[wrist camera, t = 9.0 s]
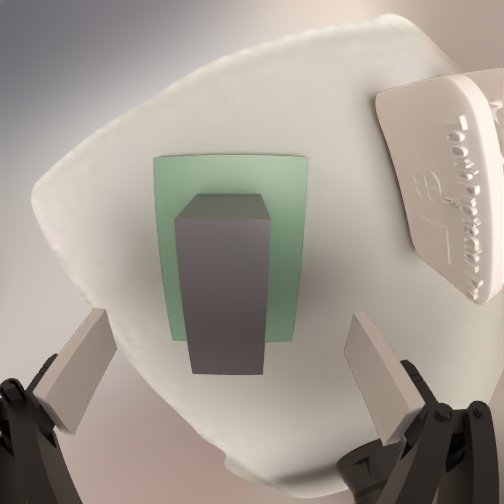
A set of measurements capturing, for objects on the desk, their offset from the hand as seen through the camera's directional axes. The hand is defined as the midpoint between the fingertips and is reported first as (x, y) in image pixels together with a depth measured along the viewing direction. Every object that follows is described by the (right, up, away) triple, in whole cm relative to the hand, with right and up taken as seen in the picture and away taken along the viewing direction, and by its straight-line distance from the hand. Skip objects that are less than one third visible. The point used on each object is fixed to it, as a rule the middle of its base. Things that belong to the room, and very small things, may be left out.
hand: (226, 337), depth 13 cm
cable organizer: (+18, +12, +7) cm, 23 cm away
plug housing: (-1, +4, +8) cm, 8 cm away
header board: (-1, +4, +9) cm, 10 cm away
